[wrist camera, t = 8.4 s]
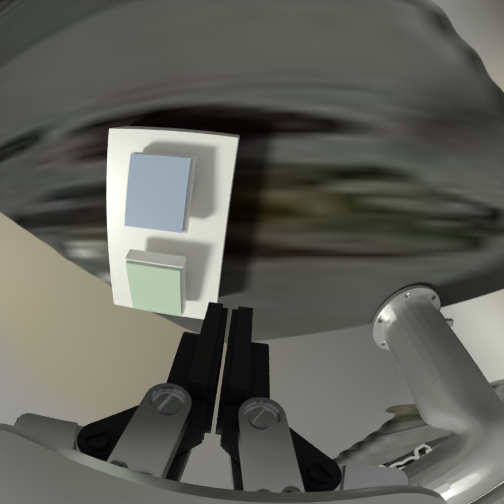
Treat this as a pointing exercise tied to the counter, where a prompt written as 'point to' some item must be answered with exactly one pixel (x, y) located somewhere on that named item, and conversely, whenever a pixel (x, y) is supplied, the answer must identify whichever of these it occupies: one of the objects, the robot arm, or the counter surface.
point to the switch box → (201, 212)
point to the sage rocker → (157, 281)
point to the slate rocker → (159, 192)
